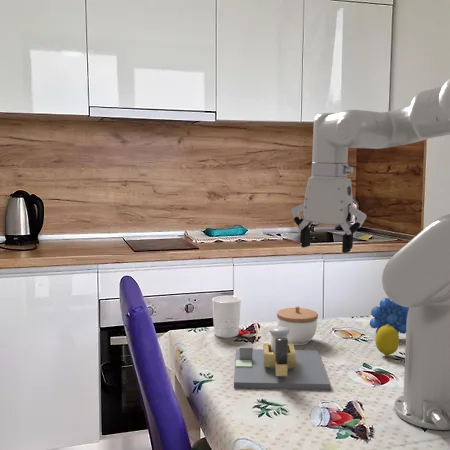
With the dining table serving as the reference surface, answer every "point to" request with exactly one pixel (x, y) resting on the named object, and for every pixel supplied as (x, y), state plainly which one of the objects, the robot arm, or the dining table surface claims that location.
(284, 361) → the tan peg holder
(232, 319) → the white cup
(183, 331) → the dining table surface
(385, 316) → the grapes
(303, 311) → the lidded jar
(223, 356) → the dining table surface
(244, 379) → the post base
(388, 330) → the lemon
